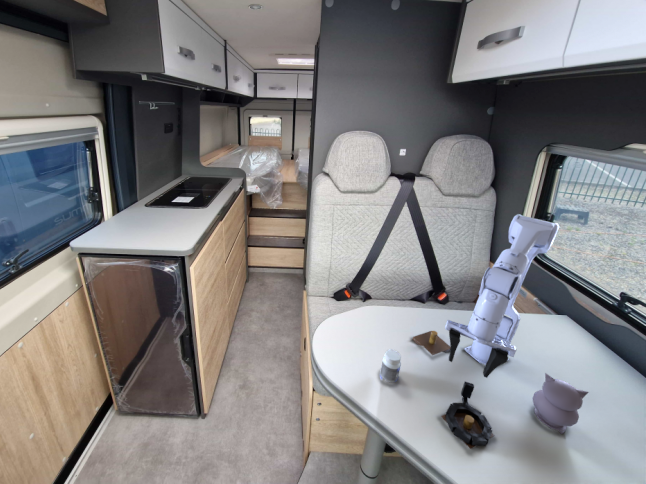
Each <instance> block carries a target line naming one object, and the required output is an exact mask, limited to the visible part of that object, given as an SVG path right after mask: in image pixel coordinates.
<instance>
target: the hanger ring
mask: <svg viewBox="0 0 646 484" xmlns="http://www.w3.org/2000/svg"><path fill="white" fill-rule="evenodd" d="M474 389H475V384H474V383H472V382H468V381H464V383H463V386H462V388H461V391H460V396H461V397H462V398H461V402H452V403H450V405H449V406H448V408H447V409H446V411H445V414H446V415H445V417H446V418H445V419H446V421H447V423H448V424H447V423H446V424H447V425H448V428H449V429H450V431H451V432H452V433H453V435H454V436H456V437H457V438H458V439H460V440H461V441H462V440H463V441H464V442H466V443H467V444H469V442H470V444H471V446H475V447H485V446H486V445H488V443H489V442H490V439H491V438H490V436H491V433H493V429H492V428H493V427H492V425H491V424H490V422H489V420H488V419H487V417H486V415H484V414H482V412H481V411H480V410H478V409H476V407H473V406H472V405H470V404H469V399H471V397H472V395H473V393H474ZM456 413H466V414H467V415H469V416H471V417H472V418H473V419H475V420H476V421H477V422H478V424H479V426H480V427H481V429H482V433H481V434H471V433H469V432H468V431H466V430H465V429H463V428H462V427H460V426H459V425H458V423H457V421H456V419H455V417H454V416H455V414H456ZM446 421H445V422H446ZM463 441H462V442H463ZM464 442H463V443H464Z"/></svg>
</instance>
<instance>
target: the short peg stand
mask: <svg viewBox="0 0 646 484" xmlns="http://www.w3.org/2000/svg"><path fill="white" fill-rule="evenodd" d="M445 415H446V413H445V414H442V415H441V416H440V417H441V418H442V419H443V420H444V422H445V423H446V424H447V425H448V423H447V421H446V419H445V418H446V417H445ZM454 417H455V419H456V421H457V423H458V425H459V426H460V427H462V428H463V429H465V430H466V431H468V432H469V433H471V434H481V433H482V429H481V427H480V426H479V424H478V422H477V421H476V420H475V419H473V418H472V417H471V416H469V415H467V414H466V413H456V414H455V416H454ZM495 436H496V435H495V434H494V433H493V432H492V433H491V436H490V439H491V438H493V437H495ZM461 441H462V442H463V443H464V444H465V445H466V446H467V448H468V449H469V450H472V449H474V448H475V447H476V446H471V444H470V442H469V444H467V443H466V442H464V441H463V440H461Z"/></svg>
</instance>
